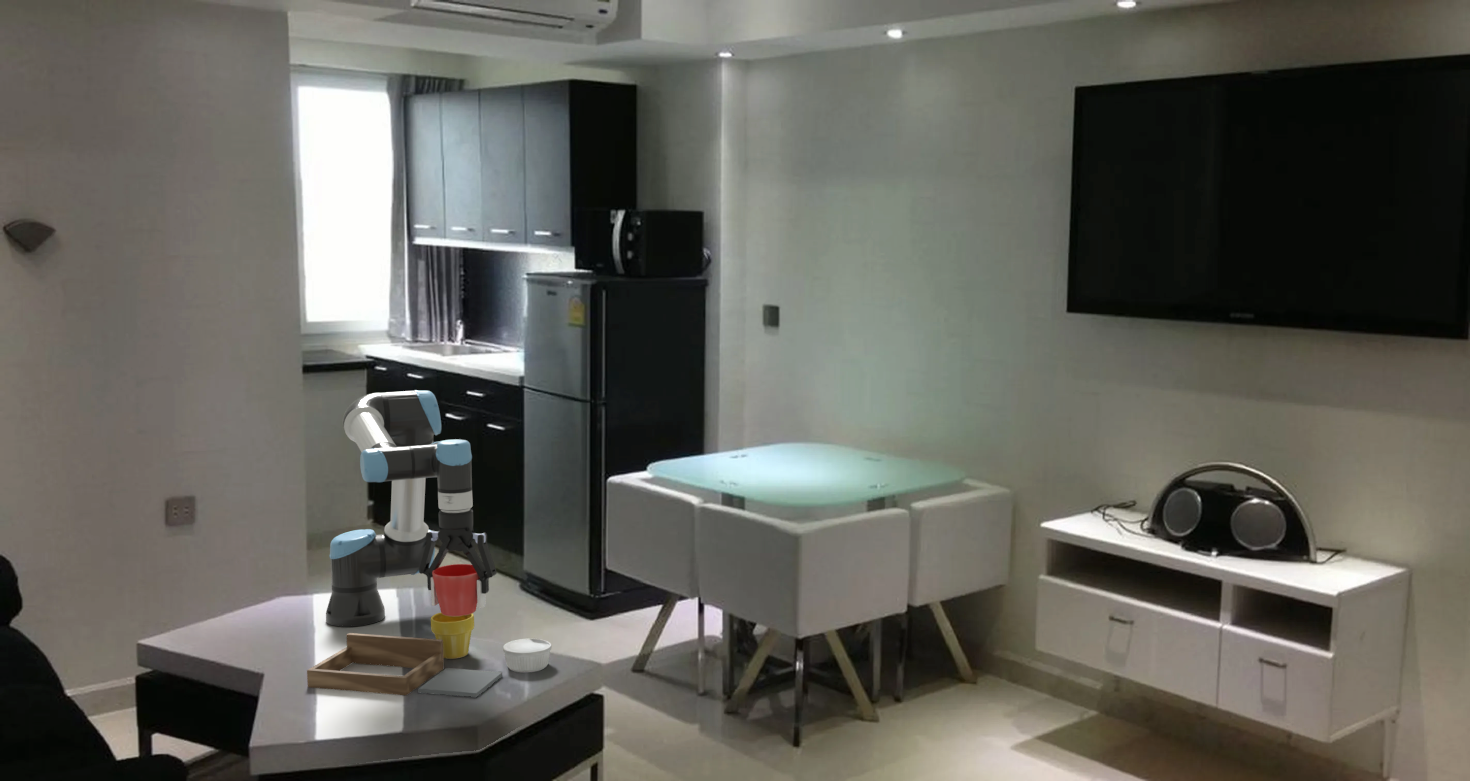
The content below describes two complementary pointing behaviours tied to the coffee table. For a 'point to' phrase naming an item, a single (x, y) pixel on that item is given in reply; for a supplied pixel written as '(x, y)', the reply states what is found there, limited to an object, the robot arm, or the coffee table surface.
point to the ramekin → (527, 654)
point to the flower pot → (456, 589)
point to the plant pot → (453, 633)
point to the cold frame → (379, 652)
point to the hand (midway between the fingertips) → (458, 605)
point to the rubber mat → (460, 682)
